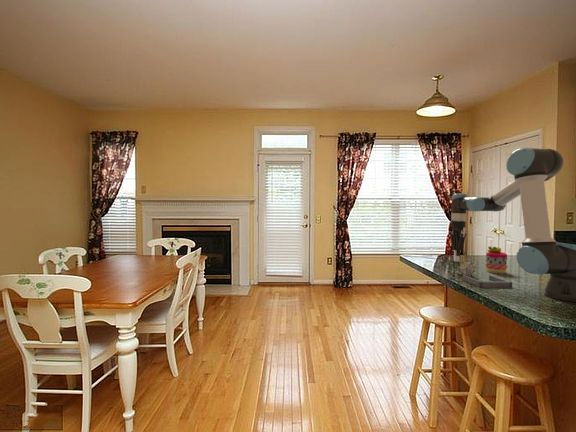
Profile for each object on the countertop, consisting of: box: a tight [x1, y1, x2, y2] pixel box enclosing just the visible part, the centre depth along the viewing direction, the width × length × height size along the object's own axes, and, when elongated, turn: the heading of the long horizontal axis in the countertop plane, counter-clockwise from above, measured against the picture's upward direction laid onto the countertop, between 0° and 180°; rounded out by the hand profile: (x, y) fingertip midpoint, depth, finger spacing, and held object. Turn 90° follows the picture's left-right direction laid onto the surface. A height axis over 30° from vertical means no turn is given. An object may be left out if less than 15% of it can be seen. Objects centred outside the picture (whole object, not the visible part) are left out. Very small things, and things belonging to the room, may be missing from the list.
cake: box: [485, 245, 508, 275], centre depth 191 cm, size 10×11×15 cm
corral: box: [461, 274, 513, 288], centre depth 163 cm, size 15×15×2 cm
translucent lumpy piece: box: [457, 260, 476, 277], centre depth 179 cm, size 9×8×10 cm
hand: (456, 261), depth 189 cm, fingers closed
